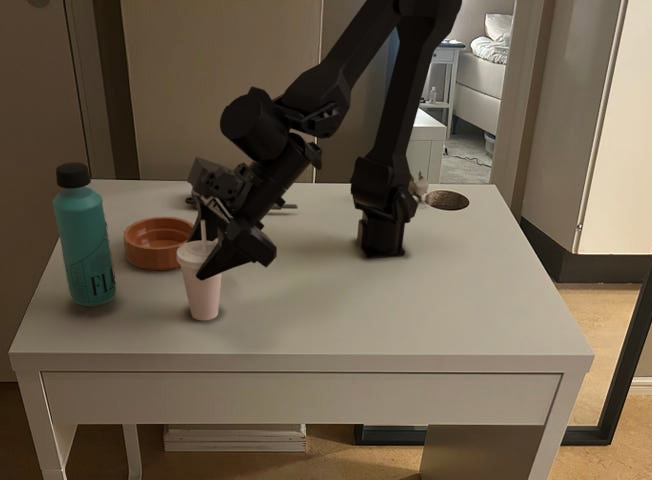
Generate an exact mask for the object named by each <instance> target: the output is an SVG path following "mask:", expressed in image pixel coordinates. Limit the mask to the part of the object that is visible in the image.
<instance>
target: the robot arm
mask: <svg viewBox="0 0 652 480" xmlns="http://www.w3.org/2000/svg"><path fill="white" fill-rule="evenodd" d="M462 5H463V0H365V2H363V4H362V6H361V7H360V8H359V10H358V11H357V12H356V14H355V15H354V17H353V18H352V19H351V21H349V24H348V25H347V26H346V28H345V29H344V31H343V32H342V33H341V35H340V36H339V37H338V39H337V40H336V41H335V43H334V45H333V46H332V47H331V49H330V50H329V51H328V53H326V55H325V57H324V58H323V59H322V60H321V61H320V62H319V63H318V64H316V65H315V66H313V67H311V68H309V69H306V70H305V71H303V72H301V73H300V74H299V75H298V77H296V78H295V79H294V80H293V82H292V83H290V85H289V86H288V87H287V88H286V89H285V90H284V92H283V93H282V94H280V95H278V96H276V97H274V98H273V99H272V98H271V96H270V94H269V93H268V92H267V91H266V90H265V89H264V88H260V87H257V86H254V85H252V86H250V88H249V90H248V91H247V94H242V95H240V96H238V97H236V98H235V99H233V101H231V102H230V103H229V104H228V105H226V106H225V107H224V109H223V111H222V113H221V114H220V119H219V129H220V132H221V134H222V136H224V137H225V138H226V139H227V140H229V141H230V142H231V143H232V144H233V145H234V146H236V147H237V149H239V150H240V151H241V152H242V153H243V154H245V155H246V156H247V157H248V158H249V159H251V160H252V161H251V162H250V163H249V164H247V163H246V162H245V161H243V162H240V163H239V164H238V165H237V166H235V167H234V168H233V169H232V168H229V167H227V166H226V165H223V164H220V163H217V162H214V161H211V160H209V159H206V158H202V157H198V156H196V157H195V158H194V160H193V163H192V166H191V169H190V171H189V174H188V177H187V179H186V182H187V183H188V184H190V185H191V187H192V188H191V190H192V189H193V190H194V191H195V192H196V193H198V194H200V195H203V196H202V197H201V198H199V197H198V196H196V197H195V200H196V202H197V208H196V209H197V217H196V219H195V222H194V224H193V225H194V226H193V229H192V231H191V233H190V235H189V238H188V240H187V242H186V243H188V242H192V241H199V240H202V233H201V220H205V228H206V241H212V242H215V241H216V240H217V242H216V243H217V245H216V246H215V247H214V249H213V250H212V252H211V253H210V254H209V256H208V257H207V259H206V260H205V261H204V263H203V264H202V266H201V267H200V269H199V270H198V272H197V274H196V277H197V278H198V279H199V280H201V281H203V280H205V279H208V278H210V277H212V276H215V275H217V274H220V273H222V274H223V273H224V272H226V271H227V272H228V271H229V270H231V269H235V268H237V267H240V266H243V265H247V264H249V263H252V264H256V263H257V262H258V263H259V264H260V265H261V266H263V267H264V268H265V269H267V268H269V266H270V265H271V264H272V263H273V262H274V261H275V260H276V258H277V256H278V247H277V246H276V245H275V243H274V242H273V240H272V239H271V238H270V237H269V236H268V235H267V234H266V233H265V232H264V231H262V230H263V229H264V228H265V224H264V223H263V222H262V220H263V219H264V218H265V217H266V216H267V214H268V213H269V212H270V211H272V210H271V208H272V207H273V206H274V205H275V204H277V205H278V206H279V207H280V208H281V207H282V206H283V205H284V204H286V203H287V202H286V200H285V199H284V198H283V196H284V195H285V194H286V193H287V191H288V190H289V189H290V188H291V187H292V186H293V184H295V182H296V181H297V180H298V179H299V178H300V177H301V175H302V174H303V173H304V172H305V171H306V170H307V169H308V168H309V166H310V165H311V166H312V167H313V168H314V169H315V170H316V171H321V170H322V169H323V159H322V155H323V151H324V150H323V148H321V146H319V145H318V144H317V143H316V142H315V141H310V142H307V141H306V140H305V139H304V138H303V137H302V135H300V134H299V133H297V132H300V133H303V134H305V135H308V136H311V137H314V138H317V139H320V140H324V139H331V138H332V137H333V136H334V134H335V133H337V132H338V130H339V128H340V127H341V124H342V123H343V121H344V120H345V117H346V116H347V114H348V112H349V110H350V108H351V101H352V100H351V98H352V90H353V89H354V87H355V84H356V83H357V82H358V80H359V79H360V77H361V76H362V74H363V73H364V72H365V70H366V69H367V68H368V66H369V65H370V63H371V62H372V61H373V59H375V56H376V55H377V53H378V52H379V51H380V49H381V48H382V46H383V45H384V43H385V42H386V41H387V39H388V38H389V36H390V35H391V34H392V32H393V31H394V30H396V33H397V38H398V41H399V43H398V48H397V52H396V56H395V60H394V64H393V68H392V71H391V75H390V79H389V84H388V88H387V91H386V95H385V99H384V102H383V107H382V111H381V115H380V119H379V123H378V126H377V131H376V134H375V138H374V143H373V144H372V145H373V146H372V147H371V148H370V150H368V151H367V152H366V154H365V155H364V156H361V155H360V156H358V157H356V159H355V161H354V166H353V167H354V168H353V172H352V175H351V178H350V179H349V184H350V195H351V197H352V201H353V205H354V209H355V210H358V211H359V210H360V211H362V215H361V218H360V219H359V220H358V224H357V225H358V226H357V235H356V236H357V237H356V244H357V245H358V247H359V248H360V250H361V251H362V252H363V254H364V256H365V257H366V258H367V259H374V258H385V257H387V258H388V257H398V256H399V257H401V256H406V250H405V249H404V247H403V243H404V235H405V228H406V224H409V223H411V219H413V218H415V215H416V213H417V210H418V206H419V203H418V202H417V200H416V199H415V198H414V197H415V196H412V195H411V193H410V192H409V191H408V188H409V183H410V177H411V175H412V174H411V170H410V166H409V161H408V157H407V151H408V148H409V143H410V140H411V137H412V132H413V131H414V130H413V129H414V126H415V122H416V118H417V116H418V115H417V114H418V111H419V107H420V103H421V100H422V96H423V93H424V89H425V85H426V82H427V78H428V74H429V71H430V67H431V64H432V60H433V56H434V53H435V50H436V49H437V48H438V47H439V46H441V44H442V43H443V42H444V41H445V39H447V37H448V36H449V35H451V33H452V30H453V28H454V26H455V23H456V19H457V18H458V14H459V13H460V11H461V8H462ZM291 130H294V131H297V132H293V131H291Z"/></svg>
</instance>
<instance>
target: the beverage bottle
mask: <svg viewBox="0 0 652 480" xmlns="http://www.w3.org/2000/svg"><path fill="white" fill-rule="evenodd" d="M55 175H56V179H55V180H56V185H57V186H58V187H60V188H62V190H61V191H59V192H58V194H57V195H56V196H55V197H54V198H53V200H52V207H53V211H54V216H55V220H56V221H55V222H56V225H57V230H58V235H59V241H60V246H61V252H62V263H63V264H64V272H65V276H66V277H65V280H66V284H67V288H68V289H67V290H68V291H69V294H70V297H71V299H72V301H73V302H74V303H75V304H78V305H80V306H87V307H88V306H89V307H95V306H100V305H104V304H106V303H108V302H110V301H111V300H113V299H114V297H115V296H116V293H117V286H116V285H117V282H116V273H115V272H114V268H115V267H114V265H113V263H114V262H113V260H112V259H113V256H112V252H111V248H110V242H111V241H110V239H109V232H108V227H107V226H108V222H107V220H106V218H107V216H106V215H105V211H104V207H103V206H104V205H103V197H102V195H101V194H100V193H98V192H97V191H96V190H94V189H93V188H91V187H88V186H89V185H90V184H91V182H92V179H91V176H90V171H89V168H88V165H86V164H85V163H83V162H76V161H73V162H66V163H63V164H60V165H58V166H57V167H56V168H55Z"/></svg>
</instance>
